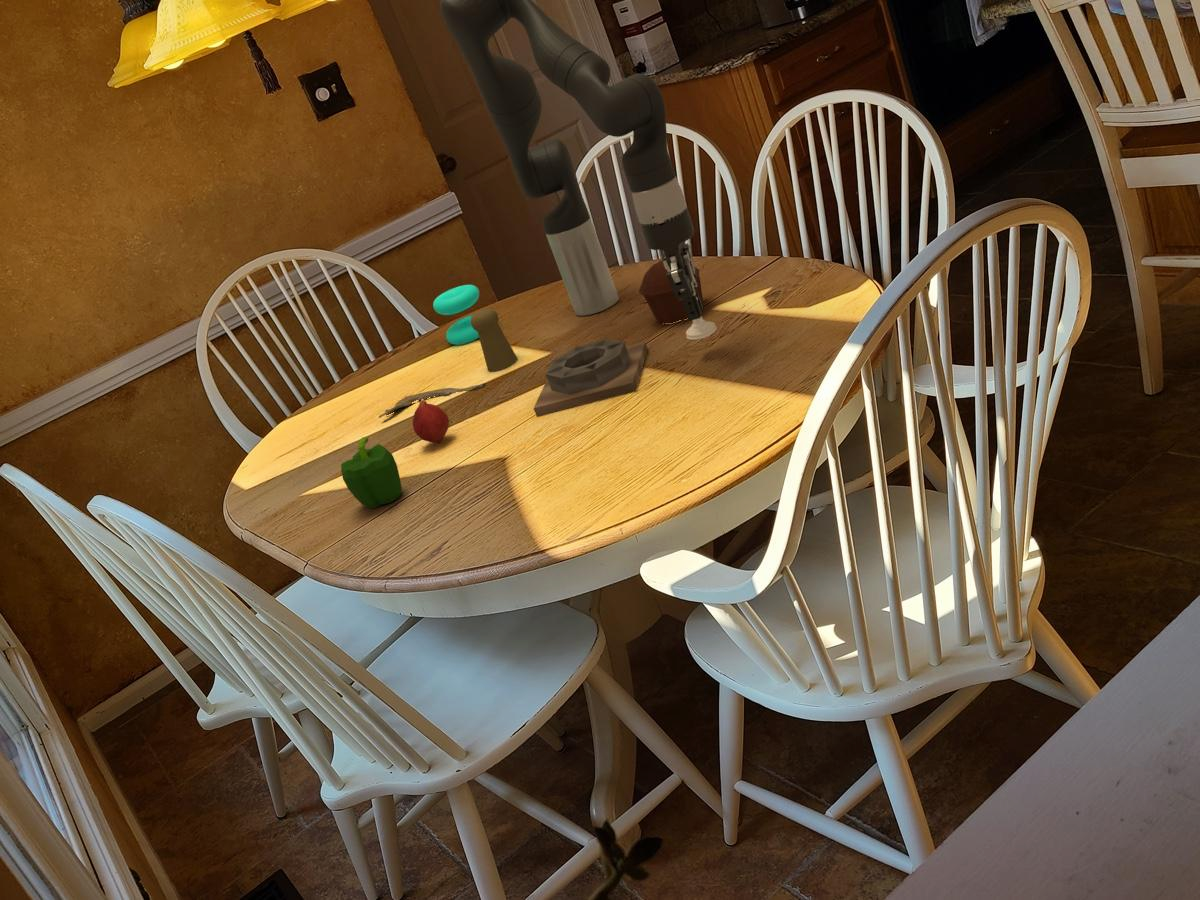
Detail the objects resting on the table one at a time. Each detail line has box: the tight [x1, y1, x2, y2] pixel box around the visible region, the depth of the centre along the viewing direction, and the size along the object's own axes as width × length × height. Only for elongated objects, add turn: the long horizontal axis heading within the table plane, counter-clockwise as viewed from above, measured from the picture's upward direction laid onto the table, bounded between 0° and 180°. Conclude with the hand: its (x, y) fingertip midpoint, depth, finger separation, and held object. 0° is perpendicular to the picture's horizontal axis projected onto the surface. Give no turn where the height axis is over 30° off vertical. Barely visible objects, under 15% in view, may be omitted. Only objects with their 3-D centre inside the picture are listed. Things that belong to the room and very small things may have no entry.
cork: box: [471, 308, 519, 373], centre depth 207 cm, size 6×6×11 cm
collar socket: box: [533, 338, 649, 417], centre depth 184 cm, size 17×17×4 cm
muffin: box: [638, 259, 705, 325], centre depth 198 cm, size 12×11×10 cm
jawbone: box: [378, 383, 487, 419], centre depth 206 cm, size 9×20×2 cm, turn 94°
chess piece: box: [681, 276, 717, 341], centre depth 174 cm, size 5×5×10 cm
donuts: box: [432, 284, 480, 346], centre depth 231 cm, size 10×10×10 cm
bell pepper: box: [340, 436, 403, 509], centre depth 169 cm, size 8×8×10 cm
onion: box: [412, 399, 450, 444], centre depth 183 cm, size 6×6×8 cm
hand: (695, 314), depth 175 cm, fingers closed on chess piece
